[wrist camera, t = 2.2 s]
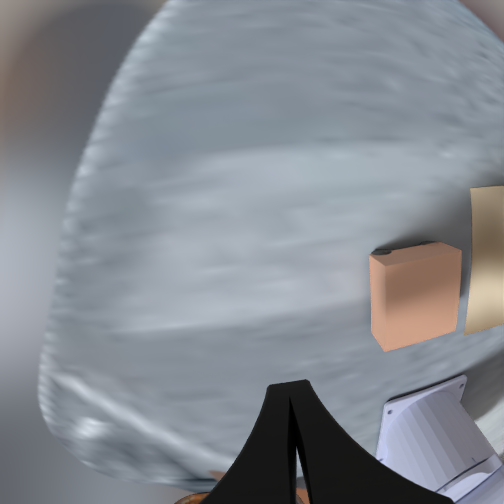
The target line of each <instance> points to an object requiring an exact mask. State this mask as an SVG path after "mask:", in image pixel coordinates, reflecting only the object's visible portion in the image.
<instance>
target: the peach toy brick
mask: <svg viewBox="0 0 504 504" xmlns="http://www.w3.org/2000/svg"><path fill="white" fill-rule="evenodd" d="M461 262H462V250H460V249H457V248H455V247H452V246H450V245H447V244H445V243H442V242H435V241H425V242H422V243H421V245H419V246H414V247H409V248H403V249H398V250H392V251H390V250H376V251H373V252H372V253H371V254H370V255H369V264H370V285H371V333H372V334H373V335H374V337H375V338H376V340H377V341H378V343H379V344H380V346H381V347H382V349H383V350H384V352H386V351H390V350H394V349H397V348H401V347H404V346H408V345H411V344H415V343H418V342H422V341H425V340H428V339H431V338H434V337H437V336H441V335H444V334H447V333H449V332H452V331H455V330H456V323H457V315H458V306H459V295H460V282H461Z"/></svg>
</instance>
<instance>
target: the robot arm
mask: <svg viewBox="0 0 504 504" xmlns="http://www.w3.org/2000/svg"><path fill="white" fill-rule="evenodd" d="M466 381H467V377H466V376H465V375H461V376H459V377H456V378H454V379H451V380H449V381H446V382H444V383H441V384H439V385H436V386H433V387H430V388H428V389H425V390H422V391H419V392H416V393H413V394H410V395H407V396H404V397H401V398H398V399H394V400H391V401H388V402H387V403H386V404H385V405H384V410H383V417H382V424H381V430H380V436H379V442H378V447H377V452H376V457H373V456H372V455H371V454H369V453H368V452H367V451H366V450H365V449H363V448H362V447H361V446H360V445H359V444H358V443H357V442H356V441H354V440H353V439H352V438H351V437H350V436H349V435H348V434H347V433H346V431H345V430H344V429H343V428H342V427H341V426H340V425H339V424H338V423H337V422H336V420H335V419H334V418H333V417H332V416H331V414H330V413H329V412H328V411H327V409H326V408H325V407H324V405H323V404H322V402H321V401H320V399H319V398H318V396H317V395H316V393H315V391H314V390H313V388H312V386H311V384H310V381H308V380H306V379H305V380H299V381H293V382H286V383H279V384H272V385H269V386H268V387H267V391H266V396H265V399H264V403H263V406H262V408H261V411H260V414H259V416H258V418H257V421H256V423H255V425H254V428H253V430H252V432H251V434H250V436H249V438H248V439H247V441H246V443H245V445H244V447H243V449H242V450H241V452H240V454H239V455H238V457H237V458H236V460H235V461H234V463H233V464H232V466H231V467H230V468H229V470H228V471H227V473H226V474H225V475H224V476H223V478H222V479H221V480H220V481H219V482H218V484H217V485H216V486H215V487H214V488H213V489H212V491H211V492H210V493H209V494H208V495H207V496H206V497H205V498H204V499H203V500H202V501H201V502H200V503H199V504H296V468H297V458H296V446H297V450H298V455H299V459H300V463H301V467H302V472H303V476H304V480H305V484H306V488H307V492H308V497H309V503H310V504H504V460H503V459H502V458H501V457H500V456H499V455H498V454H497V453H496V452H495V450H494V449H493V447H492V446H491V444H490V443H489V442H488V440H487V439H486V437H485V436H484V435H483V433H482V432H481V430H480V429H479V428H478V426H477V425H476V424H475V422H474V421H473V420H472V418H471V417H470V416H469V414H468V413H467V412H466V410H465V409H464V408H463V406H462V405H461V404H460V401H461V398H462V395H463V392H464V388H465V385H466ZM389 410H390V411H389Z"/></svg>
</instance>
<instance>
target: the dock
mask: <svg viewBox="0 0 504 504" xmlns="http://www.w3.org/2000/svg"><path fill="white" fill-rule="evenodd" d="M470 193H471V211H472V262H471V279H470V292H469V301H468V310H467V318H466V325H465V331H464V335H468V334H471V333H475V332H479V331H482V330H485V329H489V328H492V327H496V326H499V325H502V324H504V185H503V186H490V187H478V188H470Z"/></svg>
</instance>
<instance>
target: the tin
mask: <svg viewBox="0 0 504 504" xmlns="http://www.w3.org/2000/svg"><path fill="white" fill-rule="evenodd" d="M209 493H210V492H209ZM209 493H199V494H193V495H189V496H186V497H184V498H182V499H180V500H179V501H177V502H176V503H175V504H199V503H200V502H201V501H202V500H203V499H204V498H205V497H206V496H207V495H208V494H209ZM296 504H304V503H303V501H302V500H301V498H300V497H299V496H298V495H297V494H296Z"/></svg>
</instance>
